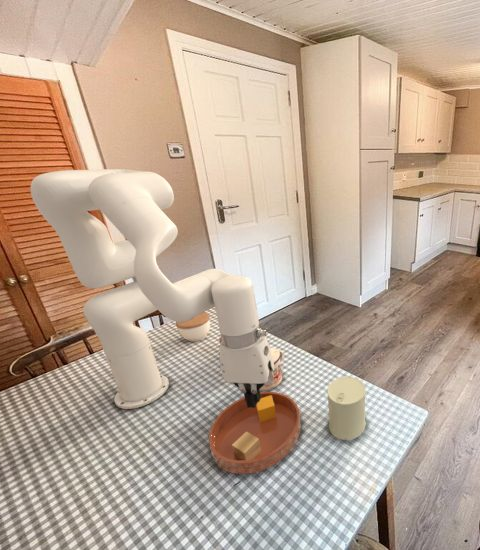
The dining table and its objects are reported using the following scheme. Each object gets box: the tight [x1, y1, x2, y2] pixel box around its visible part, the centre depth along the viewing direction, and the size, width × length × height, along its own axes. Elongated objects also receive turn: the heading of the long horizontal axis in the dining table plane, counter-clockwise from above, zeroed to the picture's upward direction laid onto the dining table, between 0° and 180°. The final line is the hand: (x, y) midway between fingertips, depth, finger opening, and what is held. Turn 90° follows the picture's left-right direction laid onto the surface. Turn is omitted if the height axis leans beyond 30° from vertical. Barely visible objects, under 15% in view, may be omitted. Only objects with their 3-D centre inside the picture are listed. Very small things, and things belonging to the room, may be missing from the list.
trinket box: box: [175, 311, 211, 342], centre depth 111 cm, size 11×11×9 cm
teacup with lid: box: [260, 346, 284, 391], centre depth 90 cm, size 12×9×12 cm
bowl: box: [208, 391, 302, 475], centre depth 72 cm, size 20×20×4 cm
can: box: [326, 376, 367, 441], centre depth 74 cm, size 9×9×12 cm
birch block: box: [232, 432, 261, 460], centre depth 67 cm, size 4×4×4 cm
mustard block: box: [257, 395, 276, 423], centre depth 78 cm, size 4×4×4 cm
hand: (253, 402), depth 69 cm, fingers closed
